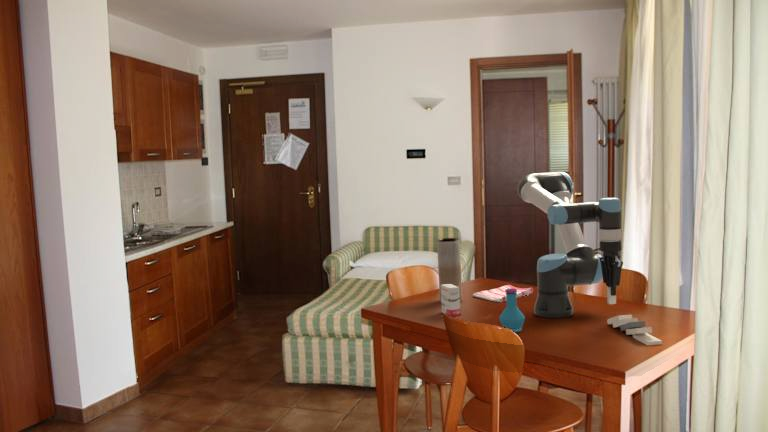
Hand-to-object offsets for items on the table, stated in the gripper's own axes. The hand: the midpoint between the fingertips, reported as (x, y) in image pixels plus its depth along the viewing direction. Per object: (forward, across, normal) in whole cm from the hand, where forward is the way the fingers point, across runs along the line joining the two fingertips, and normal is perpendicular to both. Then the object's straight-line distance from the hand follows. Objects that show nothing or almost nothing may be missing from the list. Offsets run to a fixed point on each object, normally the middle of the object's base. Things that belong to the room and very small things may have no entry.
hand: (611, 303), depth 239 cm
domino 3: (+7, -15, 0) cm, 17 cm away
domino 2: (+6, -11, 0) cm, 12 cm away
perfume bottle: (+8, +5, +37) cm, 38 cm away
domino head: (+7, -1, 0) cm, 7 cm away
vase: (+8, +57, +46) cm, 74 cm away
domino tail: (+7, -19, 0) cm, 20 cm away
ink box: (+8, +36, +52) cm, 63 cm away
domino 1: (+7, -5, 0) cm, 8 cm away
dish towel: (+8, +60, +21) cm, 64 cm away
